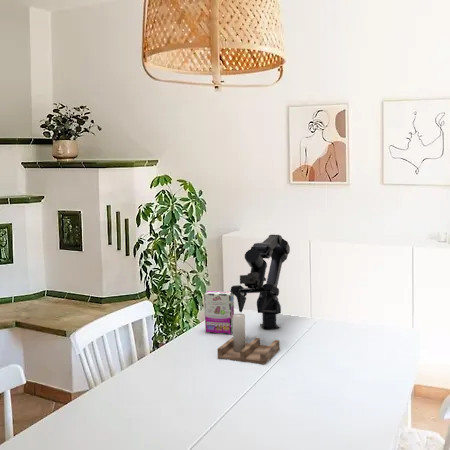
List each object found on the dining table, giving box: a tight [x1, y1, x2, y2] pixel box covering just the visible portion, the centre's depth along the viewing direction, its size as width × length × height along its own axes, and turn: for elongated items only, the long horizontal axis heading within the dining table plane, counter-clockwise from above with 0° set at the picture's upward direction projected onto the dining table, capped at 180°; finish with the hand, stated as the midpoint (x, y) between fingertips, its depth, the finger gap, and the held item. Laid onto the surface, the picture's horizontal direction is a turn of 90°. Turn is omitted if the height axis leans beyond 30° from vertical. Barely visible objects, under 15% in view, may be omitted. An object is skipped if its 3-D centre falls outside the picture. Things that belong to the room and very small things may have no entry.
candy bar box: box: [203, 290, 235, 335], centre depth 245 cm, size 11×5×16 cm, turn 73°
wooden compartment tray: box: [217, 336, 281, 365], centre depth 219 cm, size 16×18×4 cm
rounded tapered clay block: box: [232, 313, 246, 352], centre depth 220 cm, size 4×4×13 cm
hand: (250, 311), depth 227 cm, fingers open, 9 cm apart
